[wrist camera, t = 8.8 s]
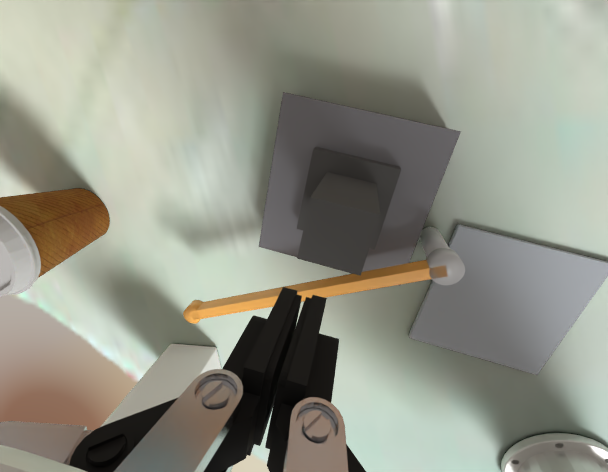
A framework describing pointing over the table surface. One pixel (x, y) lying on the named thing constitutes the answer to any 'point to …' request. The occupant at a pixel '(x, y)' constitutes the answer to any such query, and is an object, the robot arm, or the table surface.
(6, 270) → the disposable coffee cup
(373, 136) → the socket
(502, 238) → the mat
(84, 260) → the table surface
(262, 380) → the robot arm
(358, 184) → the plug
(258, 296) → the orange rod with ball
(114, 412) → the milk carton
